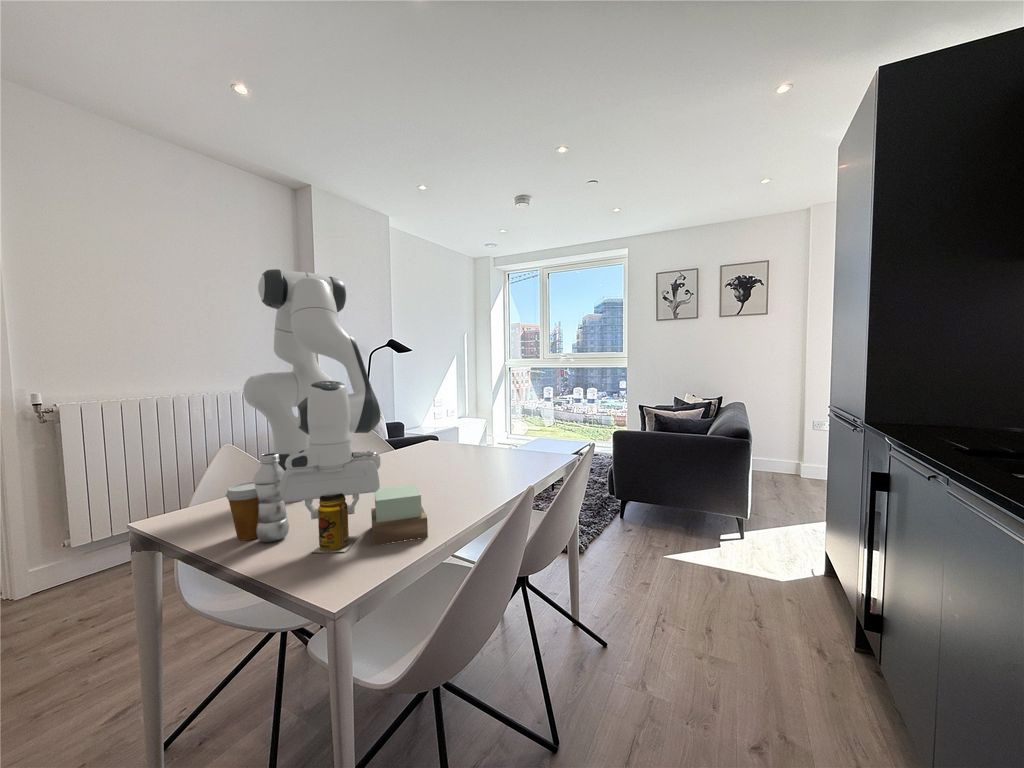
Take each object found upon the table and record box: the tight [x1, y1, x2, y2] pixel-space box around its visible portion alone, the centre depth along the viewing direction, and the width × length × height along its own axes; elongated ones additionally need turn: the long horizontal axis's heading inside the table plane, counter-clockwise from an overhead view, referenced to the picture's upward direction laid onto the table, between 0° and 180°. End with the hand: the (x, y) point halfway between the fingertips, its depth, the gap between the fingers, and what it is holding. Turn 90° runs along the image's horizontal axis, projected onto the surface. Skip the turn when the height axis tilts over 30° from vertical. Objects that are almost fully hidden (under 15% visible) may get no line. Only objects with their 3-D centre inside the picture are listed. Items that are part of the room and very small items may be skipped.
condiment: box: [312, 494, 360, 554], centre depth 93 cm, size 7×8×12 cm
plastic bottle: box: [253, 452, 290, 543], centre depth 97 cm, size 6×7×20 cm
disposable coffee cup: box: [225, 480, 258, 541], centre depth 100 cm, size 10×10×12 cm
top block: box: [374, 483, 422, 523], centre depth 100 cm, size 10×10×5 cm
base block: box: [370, 504, 429, 547], centre depth 100 cm, size 12×12×5 cm
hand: (333, 515), depth 93 cm, fingers closed on condiment, 6 cm apart
